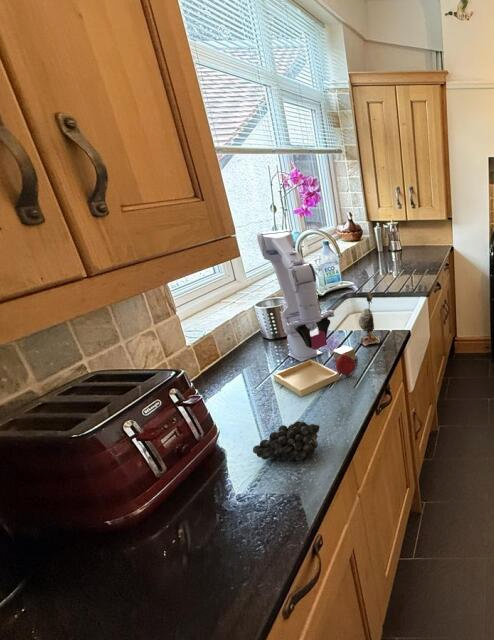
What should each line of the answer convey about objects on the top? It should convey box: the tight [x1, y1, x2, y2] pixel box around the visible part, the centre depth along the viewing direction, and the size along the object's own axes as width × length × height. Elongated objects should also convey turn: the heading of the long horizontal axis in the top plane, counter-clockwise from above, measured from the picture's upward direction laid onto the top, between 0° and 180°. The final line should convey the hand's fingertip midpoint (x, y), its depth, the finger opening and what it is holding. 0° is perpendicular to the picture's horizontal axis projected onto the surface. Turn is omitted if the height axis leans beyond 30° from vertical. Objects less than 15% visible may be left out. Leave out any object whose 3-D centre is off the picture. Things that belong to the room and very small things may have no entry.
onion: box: [335, 353, 356, 377], centre depth 127 cm, size 6×6×8 cm
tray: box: [273, 358, 341, 397], centre depth 127 cm, size 17×13×2 cm
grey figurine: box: [358, 291, 381, 347], centre depth 150 cm, size 8×11×20 cm
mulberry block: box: [310, 328, 328, 350], centre depth 127 cm, size 4×4×4 cm
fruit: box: [252, 420, 320, 462], centre depth 92 cm, size 9×8×15 cm
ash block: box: [332, 345, 357, 362], centre depth 138 cm, size 5×5×4 cm
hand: (316, 343), depth 128 cm, fingers closed on mulberry block, 4 cm apart
